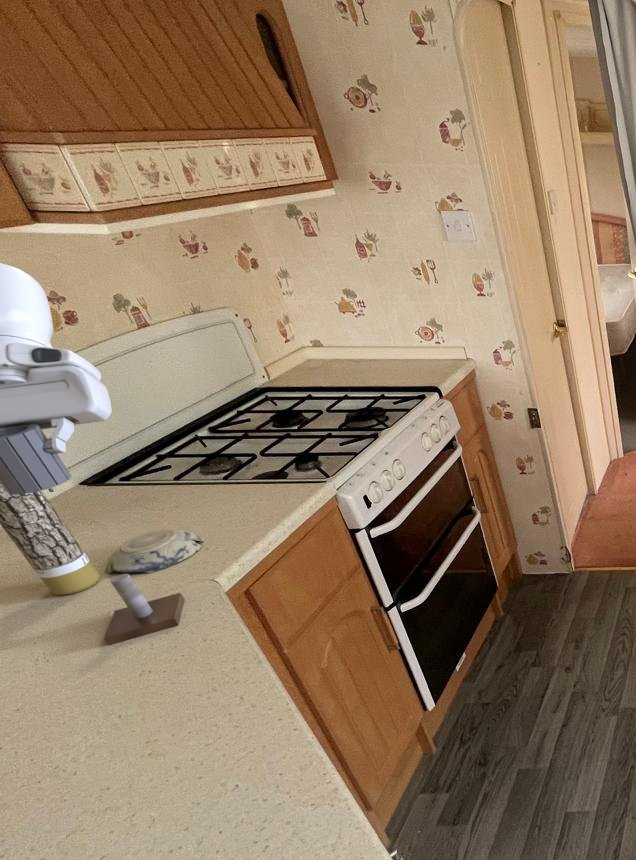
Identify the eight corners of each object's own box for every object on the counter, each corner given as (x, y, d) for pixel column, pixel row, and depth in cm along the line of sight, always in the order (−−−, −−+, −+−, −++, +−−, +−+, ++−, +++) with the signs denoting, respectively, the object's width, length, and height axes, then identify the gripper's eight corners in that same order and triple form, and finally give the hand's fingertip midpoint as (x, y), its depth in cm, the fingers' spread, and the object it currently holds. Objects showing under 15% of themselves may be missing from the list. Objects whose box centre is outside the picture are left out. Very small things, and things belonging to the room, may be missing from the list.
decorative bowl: (103, 558, 133) (112, 586, 124) (92, 542, 131) (101, 569, 122) (196, 529, 142) (211, 553, 133) (188, 514, 140) (202, 537, 131)
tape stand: (108, 645, 109) (76, 600, 104) (119, 617, 116) (89, 574, 111) (178, 625, 113) (150, 581, 109) (185, 599, 120) (158, 556, 115)
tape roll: (1, 499, 93) (-38, 445, 89) (15, 481, 98) (-21, 430, 94) (65, 486, 96) (30, 433, 92) (75, 470, 101) (43, 419, 97)
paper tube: (66, 599, 121) (-27, 474, 108) (44, 593, 123) (-50, 469, 110) (110, 579, 126) (27, 457, 113) (88, 573, 128) (4, 452, 115)
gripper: (-108, 369, 91) (-104, 463, 88) (83, 348, 97) (92, 435, 94) (-64, 392, 96) (-59, 480, 94) (114, 370, 103) (123, 452, 100)
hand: (19, 457), depth 94 cm, fingers closed on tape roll, 7 cm apart
